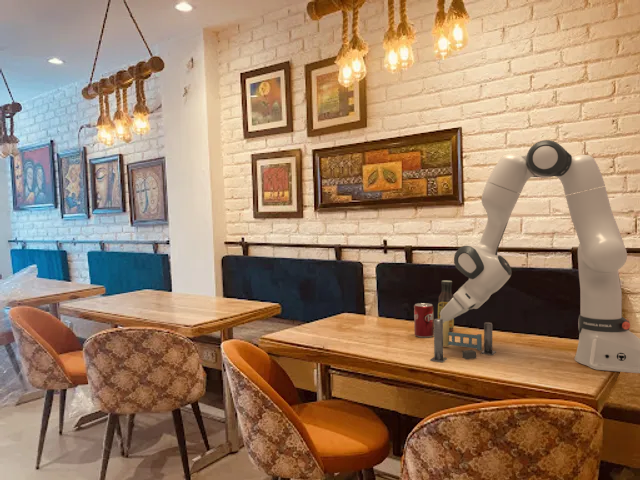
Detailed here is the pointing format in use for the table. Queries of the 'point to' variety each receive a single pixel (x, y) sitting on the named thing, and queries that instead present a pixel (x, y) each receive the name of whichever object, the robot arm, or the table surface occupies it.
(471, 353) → the block
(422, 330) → the soda can
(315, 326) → the table surface
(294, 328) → the table surface
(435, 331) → the post
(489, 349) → the hinge post
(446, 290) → the sauce bottle
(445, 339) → the gate
